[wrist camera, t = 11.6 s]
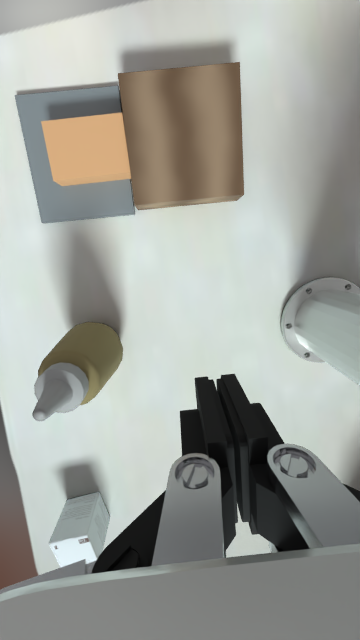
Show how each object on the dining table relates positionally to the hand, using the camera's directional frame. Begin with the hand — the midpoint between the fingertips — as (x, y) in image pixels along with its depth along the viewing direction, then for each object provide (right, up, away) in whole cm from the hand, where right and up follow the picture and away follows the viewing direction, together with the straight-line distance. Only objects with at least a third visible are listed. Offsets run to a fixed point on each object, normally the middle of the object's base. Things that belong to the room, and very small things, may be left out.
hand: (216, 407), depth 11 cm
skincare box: (-17, -29, +35) cm, 49 cm away
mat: (-14, +24, +22) cm, 35 cm away
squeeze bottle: (-13, 0, +28) cm, 31 cm away
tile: (-12, +24, +21) cm, 34 cm away
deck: (-1, +25, +22) cm, 33 cm away
